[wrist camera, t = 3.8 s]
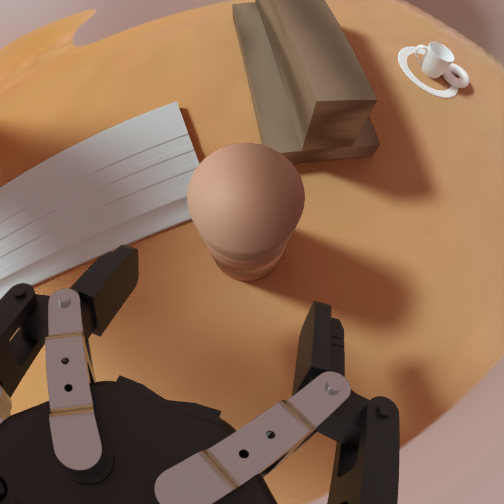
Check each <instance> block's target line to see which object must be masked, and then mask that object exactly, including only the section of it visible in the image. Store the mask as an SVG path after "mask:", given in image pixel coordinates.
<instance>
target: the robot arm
mask: <svg viewBox="0 0 504 504" xmlns="http://www.w3.org/2000/svg"><path fill="white" fill-rule="evenodd" d="M137 281H138V250H137V249H135V248H132V247H129V246H126V245H120V246H119V247H118V248H117V249H116V250H115V251H114V253H111V252H108V253H106V254H104V255H102V256H100V257H99V258H98V259H97V260H96V261H95V262H94V263H93V265H91V266H90V267H89V268H88V270H87V271H86V272H85V273H84V274H83V275H82V276H81V277H80V278H79V279H78V280H77V281H76V282H75V283H74V285H73V286H72V287H71V288H70V289H60V290H58V291H56V292H54V293H53V294H52V295H51V296H46V295H38V294H35V291H34V288H33V287H32V286H31V285H30V284H27V283H19V284H16V285H14V286H13V287H11V288H10V289H9V290H8V291H7V293H6V294H5V295H4V296H3V297H2V298H1V299H0V504H277V502H276V500H275V498H274V497H273V495H272V493H271V491H270V490H269V488H268V486H267V484H266V482H265V480H264V479H263V478H264V477H265V476H267V475H268V474H269V473H270V472H272V471H273V470H274V469H275V468H277V467H278V466H279V465H280V464H281V463H283V462H284V461H285V460H286V459H287V458H288V457H289V456H290V455H292V454H293V453H294V452H295V451H296V450H298V449H299V448H300V447H301V446H302V445H303V444H305V443H306V442H307V441H308V440H309V439H310V438H311V437H313V436H314V435H315V434H316V433H317V432H319V433H321V434H323V435H325V436H327V437H329V438H331V439H333V440H335V441H337V444H336V452H335V459H334V466H333V473H332V479H331V486H330V492H329V498H328V503H327V504H397V498H398V482H399V411H398V408H397V406H396V405H395V403H394V402H393V401H391V400H390V399H388V398H386V397H382V396H378V397H374V398H373V399H371V400H368V399H366V398H364V397H362V396H360V395H358V394H356V393H355V392H353V391H352V390H351V388H350V384H349V382H348V381H347V379H346V378H345V364H344V329H343V327H342V324H341V322H340V320H339V319H335V318H331V305H328V304H324V303H321V302H317V301H314V302H313V304H312V306H311V308H310V311H309V313H308V315H307V317H306V320H305V322H304V324H303V326H302V329H301V333H300V337H299V345H298V354H297V362H296V370H295V377H294V385H293V392H292V397H291V398H290V399H288V400H287V401H284V400H282V401H280V402H278V403H277V404H275V405H274V406H272V407H271V408H270V409H268V410H267V411H265V412H264V413H263V414H261V415H260V416H258V417H257V418H255V419H254V420H252V421H251V422H249V423H248V424H247V425H245V426H244V427H242V428H241V429H239V430H237V431H236V430H235V429H234V428H233V427H232V426H231V425H230V424H228V423H227V422H226V421H224V420H222V419H221V418H219V417H220V413H221V411H219V410H216V409H212V408H209V407H206V406H203V405H199V404H196V403H189V402H179V401H171V400H166V399H164V398H162V397H161V396H159V395H158V394H156V393H155V392H153V391H152V390H150V389H149V388H147V387H146V386H144V385H142V384H140V383H137V382H135V381H132V380H130V379H127V378H125V377H123V376H120V375H119V377H118V379H117V381H116V382H115V381H100V382H96V378H95V373H94V368H93V362H92V356H91V350H90V343H89V337H90V335H91V334H92V333H93V334H95V335H98V336H101V335H102V333H103V332H104V331H105V329H106V328H107V326H108V325H109V323H110V322H111V320H112V319H113V318H114V316H115V315H116V313H117V312H118V311H119V309H120V308H121V306H122V305H123V304H124V302H125V301H126V299H127V298H128V297H129V295H130V294H131V293H132V291H133V290H134V288H135V287H136V284H137ZM18 328H19V330H18V331H17V329H18ZM16 331H17V332H16ZM15 332H16V334H15V335H14V336H13V334H14V333H15ZM12 336H13V338H12V339H11V337H12ZM10 339H11V340H10ZM9 341H10V342H9ZM44 344H45V350H46V369H47V383H48V393H49V401H47V402H45V403H42V404H40V405H37V406H35V407H32V408H29V409H27V410H24V411H22V412H19V413H17V414H14V415H12V416H11V413H10V411H11V408H12V403H11V399H10V398H11V396H12V394H13V393H14V391H15V389H16V388H17V386H18V384H19V383H20V381H21V379H22V378H23V376H24V375H25V373H26V372H27V370H28V368H29V367H30V365H31V364H32V362H33V361H34V359H35V358H36V356H37V355H38V353H39V352H40V350H41V349H42V347H43V346H44Z"/></svg>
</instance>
